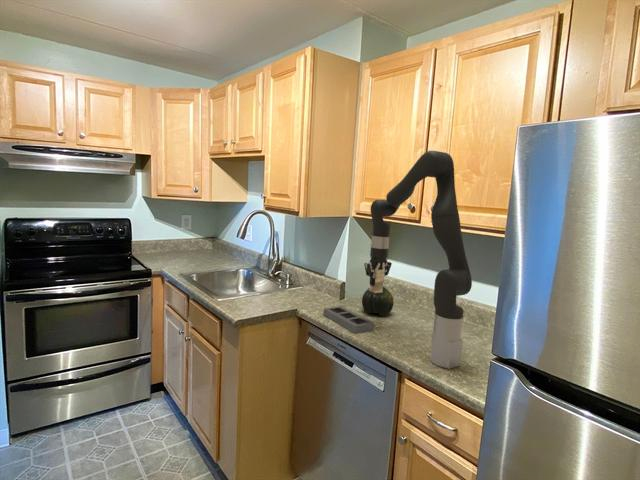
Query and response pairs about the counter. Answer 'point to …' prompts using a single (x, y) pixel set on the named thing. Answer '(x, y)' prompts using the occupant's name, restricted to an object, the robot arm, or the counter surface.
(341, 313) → the gray slotted tray
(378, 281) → the square peg
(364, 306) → the squash
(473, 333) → the counter surface
